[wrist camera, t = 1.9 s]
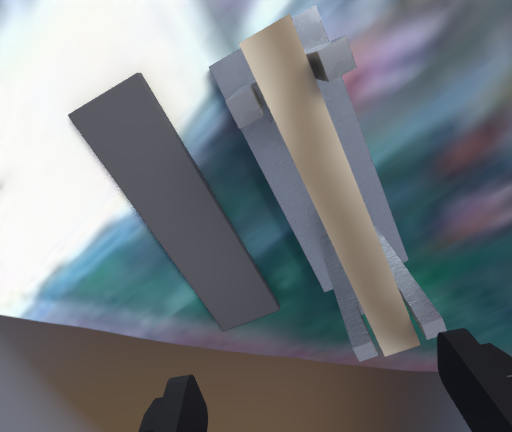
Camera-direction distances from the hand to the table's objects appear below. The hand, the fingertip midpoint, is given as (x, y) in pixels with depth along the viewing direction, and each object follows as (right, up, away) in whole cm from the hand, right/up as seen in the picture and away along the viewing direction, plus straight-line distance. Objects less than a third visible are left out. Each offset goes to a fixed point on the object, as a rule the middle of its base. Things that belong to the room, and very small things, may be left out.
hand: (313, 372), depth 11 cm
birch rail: (+4, +6, +14) cm, 16 cm away
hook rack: (+5, +10, +23) cm, 25 cm away
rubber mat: (-9, +4, +25) cm, 27 cm away
